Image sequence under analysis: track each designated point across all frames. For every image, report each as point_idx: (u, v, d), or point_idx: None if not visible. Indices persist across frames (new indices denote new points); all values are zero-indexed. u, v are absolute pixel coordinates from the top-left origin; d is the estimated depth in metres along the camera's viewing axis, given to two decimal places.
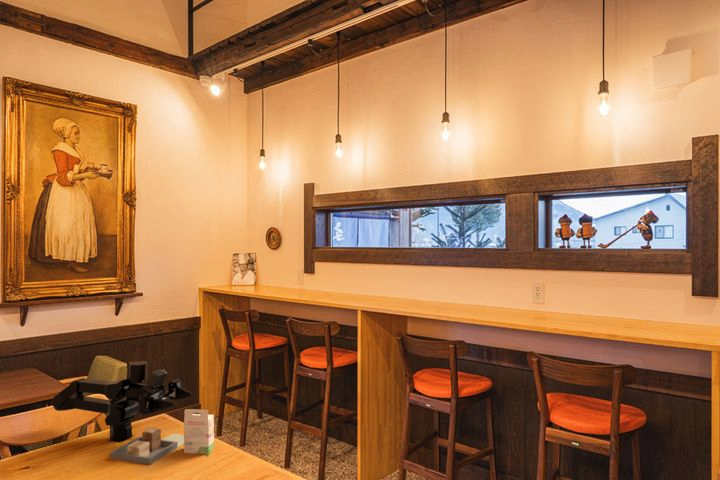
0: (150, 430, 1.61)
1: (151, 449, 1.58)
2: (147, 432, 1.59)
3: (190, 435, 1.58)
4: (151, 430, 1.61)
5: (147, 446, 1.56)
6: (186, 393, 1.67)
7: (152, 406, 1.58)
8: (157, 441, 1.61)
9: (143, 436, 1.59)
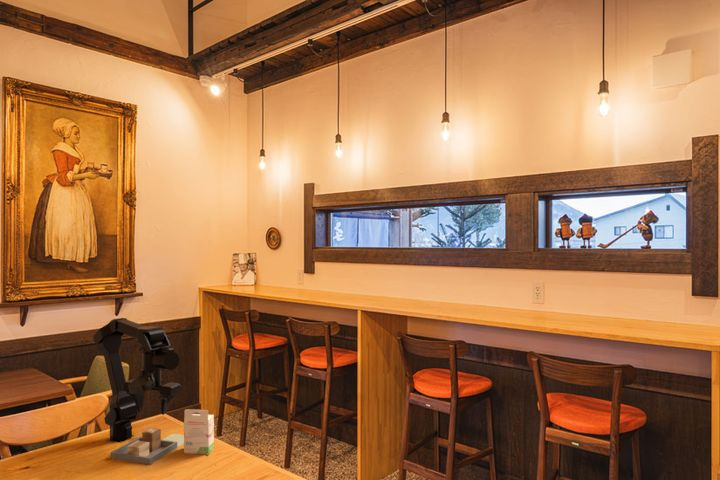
0: (150, 430, 1.61)
1: (151, 449, 1.58)
2: (147, 432, 1.59)
3: (190, 435, 1.58)
4: (151, 430, 1.61)
5: (147, 446, 1.56)
6: None
7: None
8: (157, 441, 1.61)
9: (143, 436, 1.59)
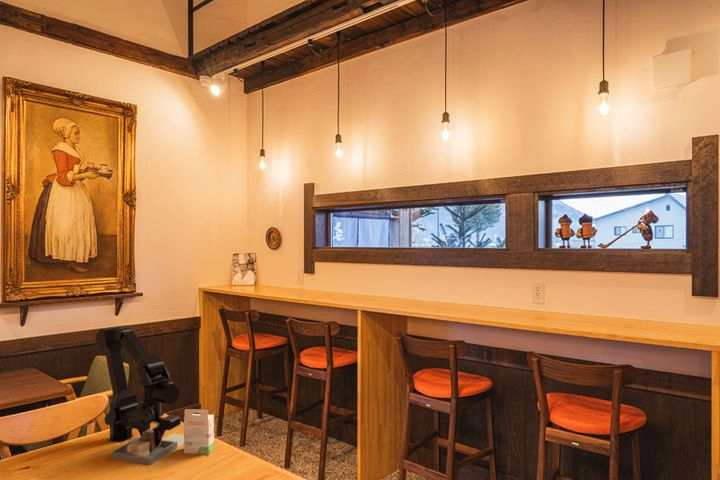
0: (150, 430, 1.61)
1: (151, 449, 1.58)
2: (147, 432, 1.59)
3: (190, 435, 1.58)
4: (151, 430, 1.61)
5: (147, 446, 1.56)
6: None
7: None
8: None
9: (143, 436, 1.59)
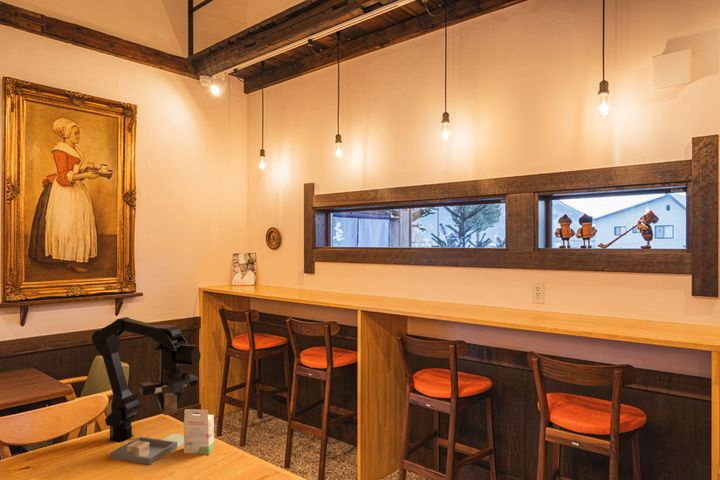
0: (168, 394, 1.65)
1: (175, 410, 1.65)
2: (169, 396, 1.64)
3: (190, 435, 1.58)
4: (169, 394, 1.65)
5: (147, 446, 1.56)
6: None
7: None
8: None
9: (166, 401, 1.63)
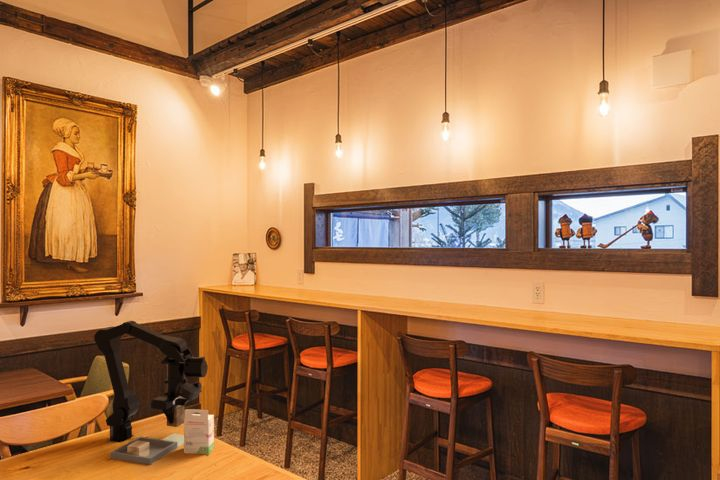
0: None
1: (183, 420, 1.69)
2: (178, 407, 1.67)
3: (190, 435, 1.58)
4: None
5: (147, 446, 1.56)
6: None
7: None
8: None
9: (177, 412, 1.66)
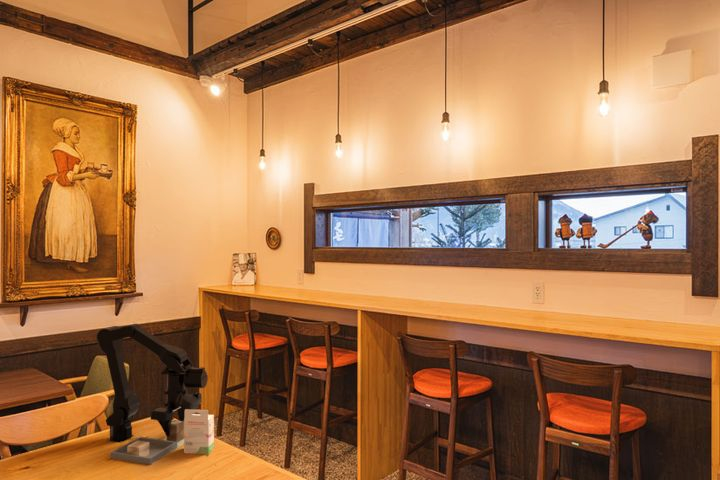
0: (175, 422, 1.68)
1: (183, 436, 1.69)
2: (178, 423, 1.67)
3: (190, 435, 1.58)
4: (175, 422, 1.68)
5: (147, 446, 1.56)
6: None
7: None
8: None
9: (177, 428, 1.66)
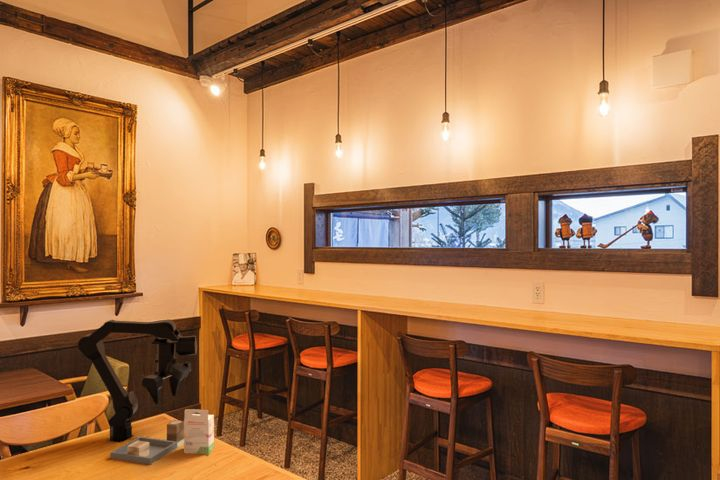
0: (175, 422, 1.68)
1: (183, 436, 1.69)
2: (178, 423, 1.67)
3: (190, 435, 1.58)
4: (175, 422, 1.68)
5: (147, 446, 1.56)
6: (175, 391, 1.77)
7: None
8: None
9: (177, 428, 1.66)
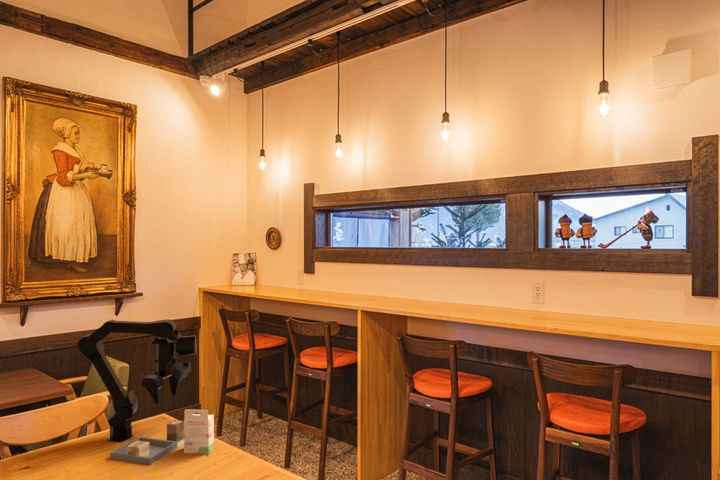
0: (175, 422, 1.68)
1: (183, 436, 1.69)
2: (178, 423, 1.67)
3: (190, 435, 1.58)
4: (175, 422, 1.68)
5: (147, 446, 1.56)
6: (175, 390, 1.77)
7: None
8: None
9: (177, 428, 1.66)
